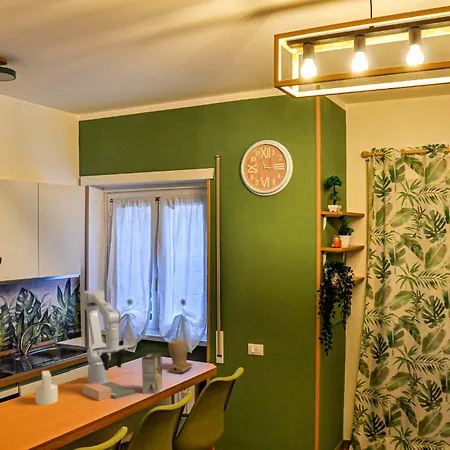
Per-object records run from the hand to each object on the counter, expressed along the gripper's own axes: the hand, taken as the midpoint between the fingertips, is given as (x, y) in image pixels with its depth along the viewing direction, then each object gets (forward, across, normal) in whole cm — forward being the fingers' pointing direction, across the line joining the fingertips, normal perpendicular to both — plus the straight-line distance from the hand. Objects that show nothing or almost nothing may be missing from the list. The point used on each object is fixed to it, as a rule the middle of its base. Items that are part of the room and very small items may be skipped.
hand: (112, 368), depth 246 cm
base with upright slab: (+11, -27, +9) cm, 30 cm away
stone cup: (+11, +43, +7) cm, 45 cm away
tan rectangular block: (+10, -8, 0) cm, 13 cm away
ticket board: (+10, 0, 0) cm, 10 cm away
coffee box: (+11, +13, -12) cm, 21 cm away
